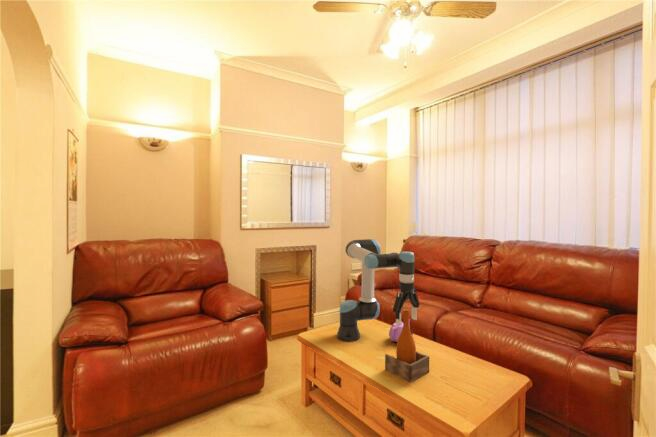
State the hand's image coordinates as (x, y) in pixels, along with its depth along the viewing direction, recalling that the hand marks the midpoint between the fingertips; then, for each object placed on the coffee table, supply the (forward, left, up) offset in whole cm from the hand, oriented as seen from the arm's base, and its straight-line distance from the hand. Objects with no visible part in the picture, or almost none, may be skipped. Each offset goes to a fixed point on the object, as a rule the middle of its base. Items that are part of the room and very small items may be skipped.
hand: (406, 322), depth 163 cm
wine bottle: (0, 0, -24) cm, 24 cm away
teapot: (-26, +29, -26) cm, 46 cm away
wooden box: (0, 0, -26) cm, 26 cm away
